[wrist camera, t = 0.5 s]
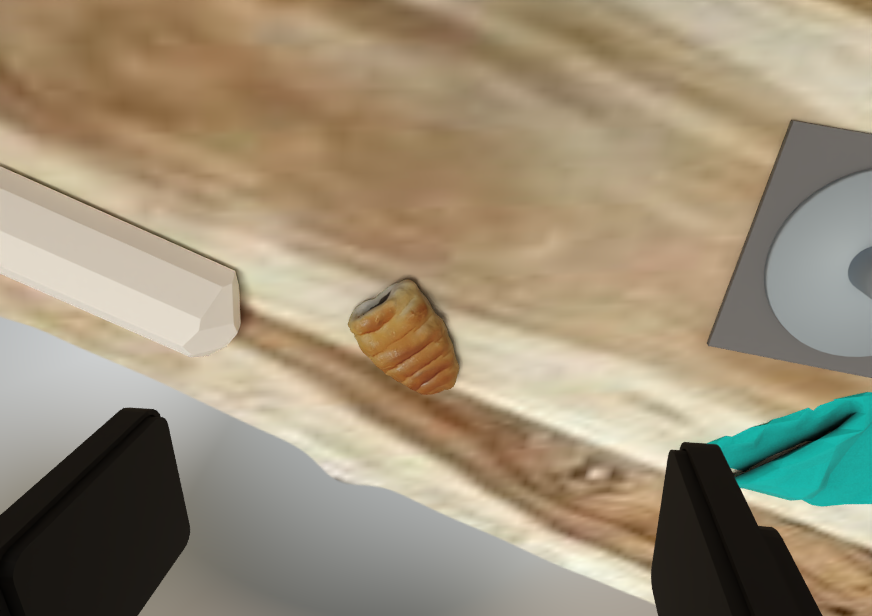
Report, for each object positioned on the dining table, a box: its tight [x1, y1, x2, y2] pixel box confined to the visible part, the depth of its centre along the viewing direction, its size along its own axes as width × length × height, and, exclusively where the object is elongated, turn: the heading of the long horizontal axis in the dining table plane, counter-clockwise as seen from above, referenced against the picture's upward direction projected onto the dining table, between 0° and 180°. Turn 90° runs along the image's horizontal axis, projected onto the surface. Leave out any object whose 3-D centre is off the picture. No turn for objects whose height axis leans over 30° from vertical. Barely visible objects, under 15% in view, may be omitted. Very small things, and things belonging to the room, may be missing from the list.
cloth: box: [707, 392, 872, 506], centre depth 47 cm, size 26×14×2 cm, turn 76°
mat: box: [707, 120, 872, 378], centre depth 42 cm, size 16×16×1 cm
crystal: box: [0, 166, 241, 357], centre depth 47 cm, size 7×7×24 cm
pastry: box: [348, 279, 459, 395], centre depth 47 cm, size 9×7×4 cm
